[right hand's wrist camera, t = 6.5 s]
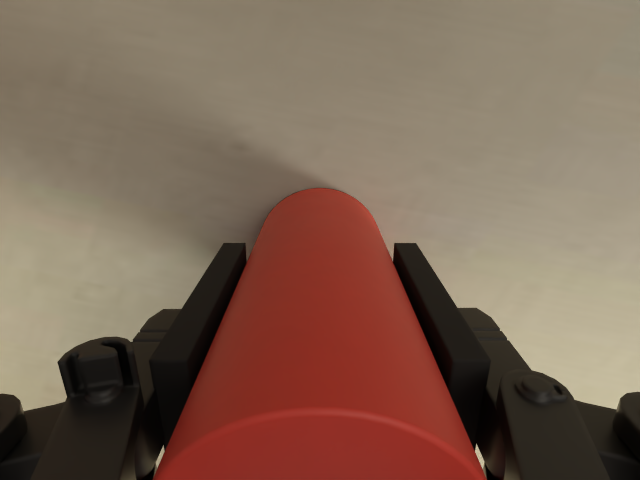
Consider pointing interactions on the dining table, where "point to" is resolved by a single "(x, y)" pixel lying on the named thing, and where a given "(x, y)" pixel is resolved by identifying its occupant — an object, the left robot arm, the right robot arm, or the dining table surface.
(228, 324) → the canister
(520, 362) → the right robot arm
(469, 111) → the dining table surface
